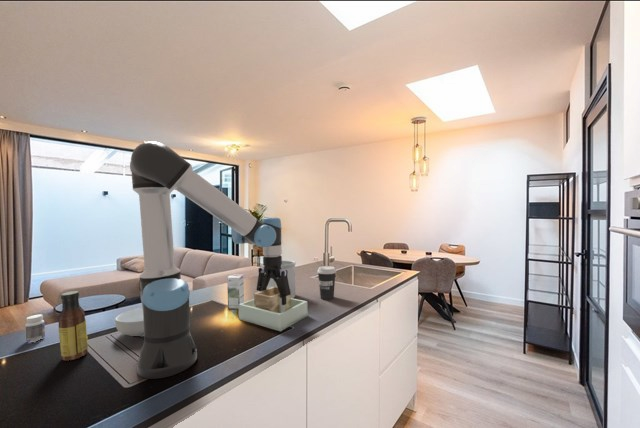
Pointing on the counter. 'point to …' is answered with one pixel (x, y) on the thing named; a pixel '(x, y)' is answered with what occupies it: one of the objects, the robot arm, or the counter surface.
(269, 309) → the small wooden crate
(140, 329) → the cereal bowl
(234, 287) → the syrup box
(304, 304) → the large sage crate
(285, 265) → the utensil holder
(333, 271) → the coffee cup
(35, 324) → the pill bottle
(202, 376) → the counter surface
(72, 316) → the sauce bottle
